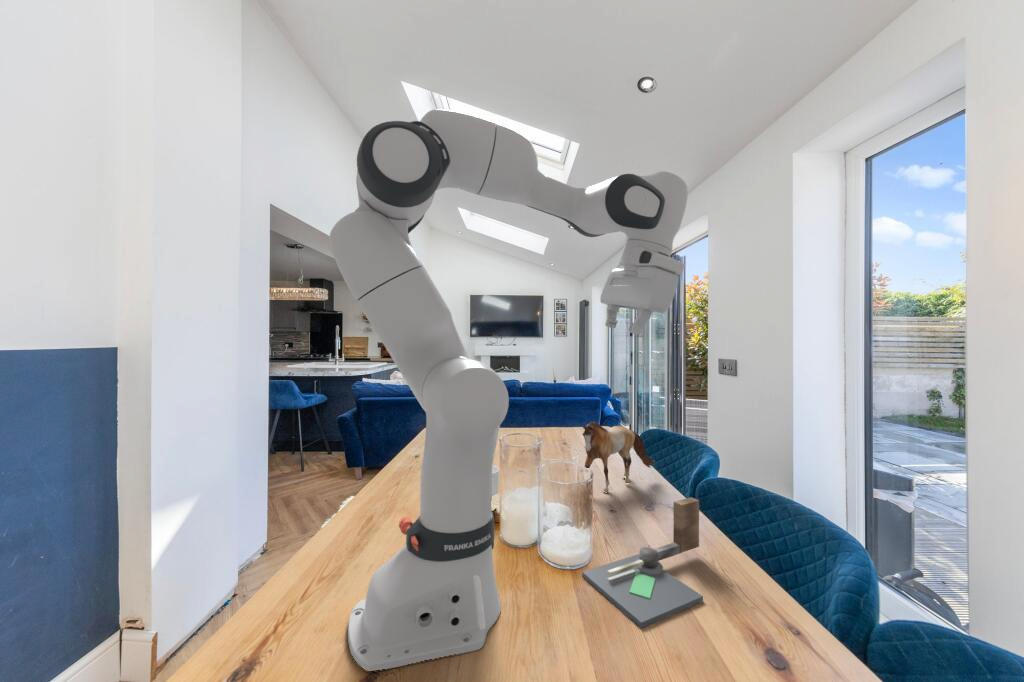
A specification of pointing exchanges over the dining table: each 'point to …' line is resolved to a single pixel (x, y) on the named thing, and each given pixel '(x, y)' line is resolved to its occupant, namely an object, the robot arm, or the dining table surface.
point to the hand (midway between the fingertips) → (621, 330)
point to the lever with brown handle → (682, 537)
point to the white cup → (495, 479)
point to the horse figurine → (613, 447)
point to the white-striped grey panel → (642, 591)
